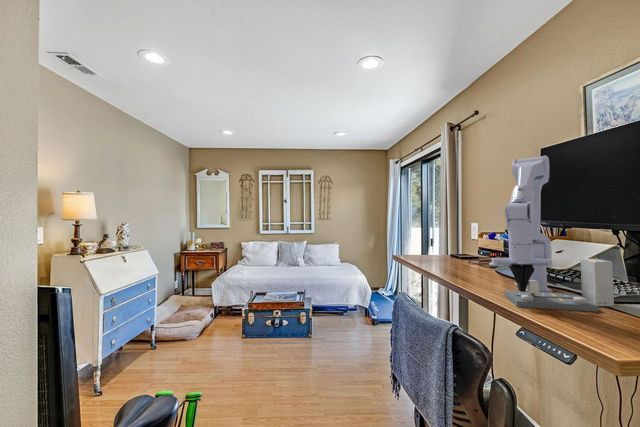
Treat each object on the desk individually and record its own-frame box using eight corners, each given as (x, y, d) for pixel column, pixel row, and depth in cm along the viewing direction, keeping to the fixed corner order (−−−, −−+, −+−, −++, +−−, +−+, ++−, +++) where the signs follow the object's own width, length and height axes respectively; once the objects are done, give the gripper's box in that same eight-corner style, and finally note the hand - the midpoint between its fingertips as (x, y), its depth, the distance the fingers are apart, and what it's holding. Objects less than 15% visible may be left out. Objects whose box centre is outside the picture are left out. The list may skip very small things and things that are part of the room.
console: (504, 295, 92) (504, 286, 92) (574, 298, 86) (574, 289, 87) (517, 306, 81) (516, 296, 81) (598, 311, 75) (598, 300, 75)
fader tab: (526, 294, 86) (525, 279, 86) (534, 294, 86) (534, 280, 86) (530, 297, 83) (529, 282, 83) (539, 297, 83) (538, 282, 83)
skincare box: (615, 306, 78) (613, 261, 78) (596, 306, 79) (594, 261, 79) (598, 300, 84) (596, 258, 84) (581, 299, 85) (579, 258, 85)
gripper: (495, 245, 84) (497, 293, 84) (556, 245, 79) (558, 295, 79) (489, 242, 91) (491, 287, 91) (545, 242, 86) (547, 289, 86)
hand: (522, 290), depth 85 cm, fingers closed
